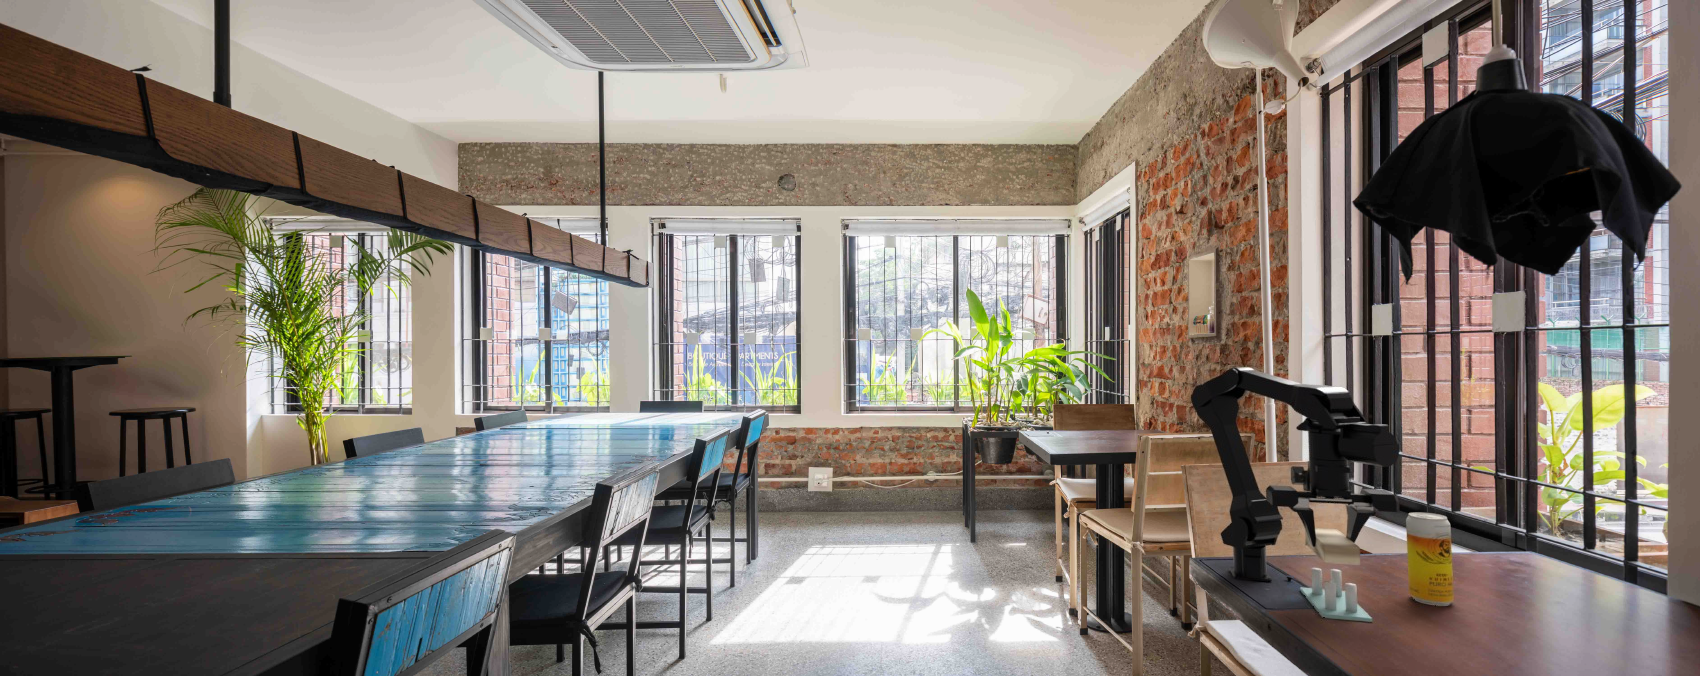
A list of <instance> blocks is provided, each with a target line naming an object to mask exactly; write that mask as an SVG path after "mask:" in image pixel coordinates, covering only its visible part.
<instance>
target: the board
mask: <svg viewBox="0 0 1700 676" xmlns="http://www.w3.org/2000/svg"><path fill="white" fill-rule="evenodd" d="M1304 530H1305V529H1304ZM1315 533H1316V546H1315V547H1313V546H1312V545H1311V543H1310V540H1309V538H1308V535H1307V533H1306V530H1305V531H1304V534H1305V545H1306V546H1307V547H1308V548H1309V549H1311V551H1312V552H1313V553H1314V554H1315V555H1317V557H1318V558H1320V560H1322V561H1323V562H1324V563H1326V564H1337V565H1352V566H1361V550H1360V546H1359V545H1357V544H1356V543H1354V542H1352V541H1351V540H1350V539H1348V538H1347V537H1346V535H1345V534H1343V532H1341V531H1340V530H1338V529H1337V528H1335V529H1334V528H1318V527H1317V528H1316V527H1315Z"/></svg>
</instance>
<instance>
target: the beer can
mask: <svg viewBox="0 0 1700 676" xmlns="http://www.w3.org/2000/svg"><path fill="white" fill-rule="evenodd" d="M1405 524H1406V525H1405V528H1406V549H1407V550H1406V551H1407V553H1406V554H1407V572H1408V573H1407V574H1408V579H1407V580H1408V594H1409V595H1410V596H1411V597H1412V600H1414V599H1415V601H1416V602H1419V603H1420V604H1425V605H1430V606H1435V605H1436V607H1446V606H1451V603H1453V601H1454V582H1453V581H1454V579H1453V578H1454V576H1453V557H1452V556H1453V553H1452V531H1451V529H1452V528H1451V523H1450V521H1449V520H1448V517H1447V516H1446V515H1443V514H1438V513H1432V512H1419V511H1418V512H1409V513H1408V515H1407V517H1406V518H1405Z"/></svg>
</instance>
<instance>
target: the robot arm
mask: <svg viewBox="0 0 1700 676" xmlns="http://www.w3.org/2000/svg"><path fill="white" fill-rule="evenodd" d="M1248 392H1251V393H1253V394H1255V395H1260V396H1263V397H1266V398H1269V399H1271V400H1275V401H1277V402H1278V401H1279V402H1281V403H1283V404H1286V405H1288V406H1290V407H1291V408H1292V410H1293V411H1295V412H1296V413H1297V414H1300V415H1301V416H1304V417H1305V418H1304V420H1303V421H1302V422H1301V423H1299V424H1298V425H1297V426H1296V430H1297V431H1301V432H1302V431H1303V432H1307V438H1308V440H1307V441H1308V461H1307V462H1308V463H1307V469H1306V470H1305V467H1304V466H1300V465H1299V466H1294V465H1292V466H1290V481H1291V484H1292V485H1296V486H1297V485H1299V486H1302V488H1303V491H1302V490H1301V491H1299V490H1297V489H1295V488H1294V487H1292V486H1291V485H1275V484H1274V485H1272V484H1269V485H1268V487H1266V489H1265V495H1264V494H1263V493H1262V492H1261V490H1260V488H1259V485H1258V482H1257V480H1256V476H1255V474H1254V471H1253V468H1252V465H1251V462H1250V459H1249V455H1248V453H1247V451H1246V448H1245V445H1244V442H1243V439H1242V437H1241V436H1242V435H1241V432H1240V431H1239V428H1238V424H1237V420H1238V419H1237V418H1238V415H1239V412H1240V406H1239V400H1240V399H1242V398H1243V397H1245V396H1246V395H1247V393H1248ZM1190 400H1191V405H1192V406H1193V408H1194V411H1195V412H1196V415H1197V417H1198V418H1199V419H1200V420H1201V421H1202V422H1203V423H1204V424H1205V425H1206V426H1207V427H1208V428H1209V429H1210V432H1211V434H1212V438H1213V442H1214V444H1215V447H1216V450H1217V452H1218V456H1219V459H1220V462H1221V465H1222V467H1223V471H1224V474H1225V477H1226V480H1227V482H1228V486H1229V490H1230V492H1231V495H1232V499H1231V502H1230V507H1229V516H1230V521H1231V522H1230V523H1229V524H1228V525H1227V526H1226V527H1225V528H1224V529H1223V530H1222V531H1221V532H1220V537H1221V540H1222V543H1223V545H1226V546H1230V547H1232V555H1233V557H1232V558H1233V560H1232V561H1233V566H1230V567H1229V571H1230V573H1231V575H1232V576H1233V578H1234V579H1236V580H1247V581H1248V580H1249V581H1250V580H1251V581H1263V582H1273V578H1272V576H1270V574H1269V572H1268V571H1267V570H1268V569H1267V547H1266V546H1275V545H1276V544H1277V540H1278V537H1279V535H1280V533H1281V531H1282V530H1283V523H1282V520H1284V517H1283V516H1282V514H1281V512H1280V511H1279V507H1280V508H1281V507H1284V508H1289V509H1290V510H1291V511H1292V512H1295V513H1296V514H1297V516H1298V517H1299V519H1300V520H1301V523H1302V524H1303V527H1304V530H1306V533H1307V535H1308V538H1309V540H1310V543H1311V545H1312V546H1313V547H1315V546H1316V533H1315V528H1316V526H1315V514H1314V510H1313V509H1312V508H1311V507H1310V503H1311V504H1312V503H1313V504H1314V503H1315V504H1317V503H1318V504H1335V505H1336V504H1338V505H1345V507H1346V508H1345V509H1346V514H1347V520H1346V535H1345V536H1346V537H1347V538H1348V539H1350V540H1351V541H1352V542H1354V543H1355V542H1356V540H1357V539H1358V536H1359V534H1360V532H1361V531H1362V529H1363V527H1364V526H1365V525H1366V523H1367V522H1368V521H1369V519H1370V517H1377V513H1378V512H1385V513H1386V512H1388V513H1389V512H1390V513H1399V512H1400V500H1399V498H1398V497H1397V495H1395V494H1394V493H1391V492H1389V491H1387V490H1386V489H1378V488H1375V489H1373V488H1372V489H1371V488H1361V489H1360V493H1352V492H1351V490H1350V482H1349V481H1350V479H1349V478H1350V477H1349V474H1350V473H1351V467H1350V466H1349V462H1351V463H1356V464H1362V465H1363V464H1365V465H1371V466H1378V467H1385V468H1388V467H1391V466H1393V465H1394V464H1395V463H1396V462H1397V460H1398V458H1399V454H1400V444H1399V443H1398V441H1397V438H1396V437H1395V436H1394V435H1393V433H1391V432H1390V430H1389V429H1390V427H1389V425H1388V424H1381V423H1379V424H1378V423H1377V424H1370V423H1369V421H1368V420H1367V418H1366V416H1364V414H1363V413H1362V412H1361V410H1360V409H1359V408H1358V407H1357V405H1356V403H1355V402H1354V401H1353V399H1352V396H1351V395H1350V391H1349V390H1347V389H1346V388H1344V387H1341V386H1336V385H1335V386H1334V385H1333V386H1332V385H1324V384H1309V383H1308V384H1307V383H1306V384H1305V383H1301V382H1297V381H1293V380H1291V379H1287V378H1284V377H1280V376H1277V375H1273V374H1270V373H1267V372H1264V371H1260V370H1256V369H1254V368H1252V367H1250V366H1249V367H1248V366H1243V367H1242V366H1241V367H1240V366H1239V367H1237V366H1236V367H1234V366H1233V367H1231V368H1229V369H1227V370H1225V371H1224V372H1223V373H1221V374H1220V375H1217V376H1215V377H1213V378H1211V379H1209V380H1207V381H1205V382H1204V383H1203V384H1198V385H1196V386H1194V389H1193V391H1192V393H1191V394H1190ZM1374 509H1375V510H1376V511H1378V512H1376V511H1375V510H1374ZM1355 544H1356V543H1355Z"/></svg>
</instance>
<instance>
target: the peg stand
mask: <svg viewBox="0 0 1700 676" xmlns="http://www.w3.org/2000/svg"><path fill="white" fill-rule="evenodd" d="M1322 570H1323V569H1321V568H1319V567H1311V569H1310V573H1311V575H1310V576H1311V587H1299V590H1301V591H1300V592H1301V594H1303V596H1304V595H1305V596H1306V597H1305V596H1304V597H1305V598H1306V599H1307V601H1308V602H1309V603H1310V604H1311V606H1312V607H1313V606H1314V609H1315V610H1316V612H1317V613H1318V612H1319V613H1318V614H1319V615H1320V616H1321V618H1323V617H1325V618H1324V619H1335V620H1336V619H1337V620H1347V621H1356V622H1357V621H1358V622H1368V623H1373V617H1371V616H1370V615H1369V613H1368V612H1366V610H1365V609H1364V608H1362V606H1360V605H1359V603H1358V594H1357V593H1358V592H1357V591H1358V590H1357V589H1358V588H1357V584H1355V583H1351V582H1345V583H1344V590H1343V585H1342V583H1343V582H1342V581H1343V580H1342V570H1340V569H1337V568H1332V569H1331V568H1330V580H1329V581H1324V582H1323V571H1322ZM1323 583H1324V584H1323ZM1323 585H1324V586H1323ZM1323 587H1324V588H1323Z"/></svg>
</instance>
